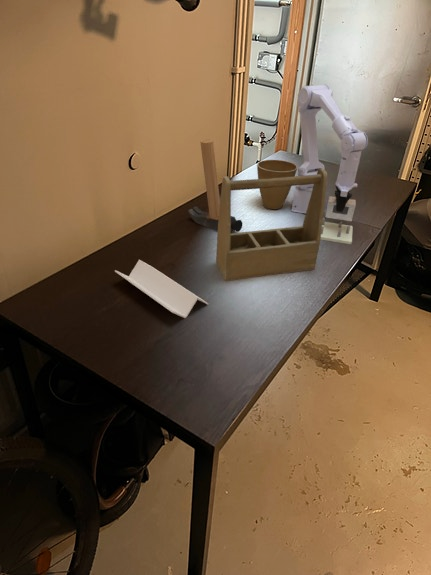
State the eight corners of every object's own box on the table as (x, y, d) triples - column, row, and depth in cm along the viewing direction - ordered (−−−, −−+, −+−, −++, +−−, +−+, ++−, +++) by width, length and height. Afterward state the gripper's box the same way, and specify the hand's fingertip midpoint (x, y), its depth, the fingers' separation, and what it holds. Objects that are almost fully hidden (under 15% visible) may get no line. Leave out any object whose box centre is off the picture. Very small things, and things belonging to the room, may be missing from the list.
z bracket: (141, 284, 131) (151, 266, 131) (197, 323, 117) (209, 303, 117) (114, 271, 120) (126, 252, 120) (172, 312, 107) (185, 291, 107)
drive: (325, 217, 150) (328, 201, 146) (326, 211, 153) (329, 196, 150) (351, 221, 148) (355, 205, 145) (351, 215, 152) (355, 200, 148)
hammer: (190, 226, 157) (177, 141, 142) (198, 221, 160) (187, 138, 146) (234, 234, 145) (226, 143, 131) (243, 229, 149) (235, 139, 134)
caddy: (224, 282, 125) (230, 184, 108) (215, 262, 134) (218, 169, 116) (315, 270, 132) (334, 176, 114) (300, 252, 140) (316, 163, 123)
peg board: (306, 237, 149) (308, 228, 147) (310, 222, 158) (312, 213, 156) (351, 244, 146) (353, 235, 144) (352, 228, 155) (354, 219, 153)
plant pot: (292, 214, 161) (297, 173, 152) (252, 211, 163) (255, 170, 154) (292, 199, 173) (297, 160, 165) (255, 196, 175) (258, 157, 166)
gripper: (360, 179, 134) (351, 218, 142) (360, 164, 146) (351, 201, 154) (337, 176, 136) (329, 215, 144) (339, 161, 147) (331, 198, 155)
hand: (339, 208), depth 149 cm, fingers closed on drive, 5 cm apart
